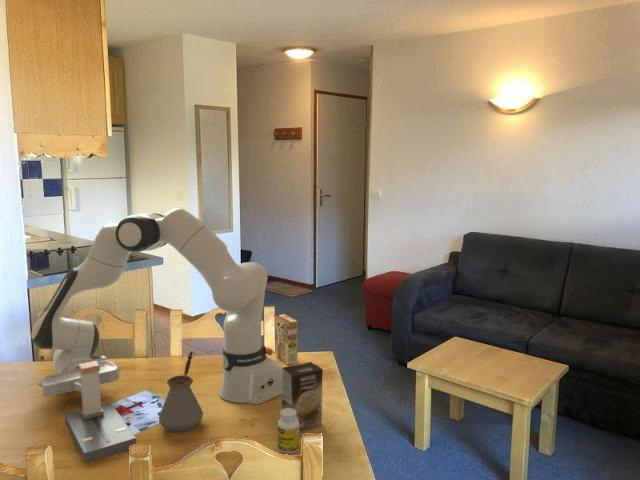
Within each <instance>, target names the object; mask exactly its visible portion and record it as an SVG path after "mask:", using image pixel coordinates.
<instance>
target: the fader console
mask: <svg viewBox="0 0 640 480" xmlns="http://www.w3.org/2000/svg"><path fill="white" fill-rule="evenodd" d="M101 408H102V409H103V411H104V415H101V416H97V417H93V418H90V419H86V420H84V419H83V417H82V415H81V411H80V410H83V408H82V409H79V410H75V411H74V410H73V411H71V412H67V413H64V423H65V426H66V427H67V429H68V432H69V434H70V435H71V438H72V440H73V441H74V443H75V445H76V447H77V450H78V452H79V453H80V456H81V458H82V459H83V463H85V464H88V463H90V462H94V461H96V460H100V459H103V458H106V457H109V456H113V455H116V454H119V453H123V452H126V451H128V448H129V446H130V445H133V444H136V445H137V438H136V436H135V434H134V433H133V432H132V430H131V429H130V428H129V426H128V425H127V423H126V422H125V421H124V419H123V418H122V417H121V415H120V413H119V412H118V411H117V409H116V408H115V407H114V405H113V404H112V401H111V402H105V403H101Z"/></svg>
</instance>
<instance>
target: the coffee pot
mask: <svg viewBox="0 0 640 480" xmlns="http://www.w3.org/2000/svg"><path fill="white" fill-rule="evenodd" d="M193 354H195V355H193ZM196 355H197V354H196V353H195V352H193V351H192V350H191V351H190V352H188V353H187V361H186V362H185V368H184V373H183V375H182V374H181V375H175V376H172V377H170V378H168V379H167V382H166V383H167V385H168V386H169V391H168V393H167V395H166V397H165V400H164V402H163V405H162V408H161V409H160V410H161V411H160V413H159V415H158V421H159V423H160V425H161V426H162V427H164V428H165V429H167V430H168V431H169V432H171V433H178V434H179V433H186V432H188V431H192V430H194V428H195V427H196V426H197V425H198V424H199V423H200V422H201V420H202V419H203V416H204V412H203V410H202V408H201V406H200V404H199V401H198V400H197V398H196V396H195V394H194V392H193V390H192V388H191V386H192V384H193V382H194V380H193V378H192V377H191V376H188V373H189V369H190V367H191V362H192V361H191V360H192V359H193V358H194V357H196Z"/></svg>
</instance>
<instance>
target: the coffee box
mask: <svg viewBox="0 0 640 480" xmlns="http://www.w3.org/2000/svg"><path fill="white" fill-rule="evenodd" d="M323 373H324V369H323V368H321V367H320V366H318V365H317V364H315V363H314V362H312V361H308V362H305V363H299V364H292V365H287V366H285V367H283V366H282V394H281V410H283V409H286V408H292V409H294V410H296V412H297V417H296V418H297V419H298V420H299V432H302V431H306V430H309V429H312V428H315V427H316V428H317V427H319V426H320V427H321V426H322V423H323V422H322V420H323V419H322V418H323V417H322V414H323V413H322V412H323V409H322V408H323V375H324V374H323Z"/></svg>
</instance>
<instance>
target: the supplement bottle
mask: <svg viewBox="0 0 640 480" xmlns="http://www.w3.org/2000/svg"><path fill="white" fill-rule="evenodd" d="M279 413H280V415H279V416H280V418H279V419H278V420H277V449H278V451H279V452H280V453H282V454H294V453H296V452H298V450H299V448H300V431H299V420H298V419H297V418H296V417H297V412H296V410H294V409H292V408H286V409H283V410H282V409H281V410H280V412H279Z"/></svg>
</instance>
